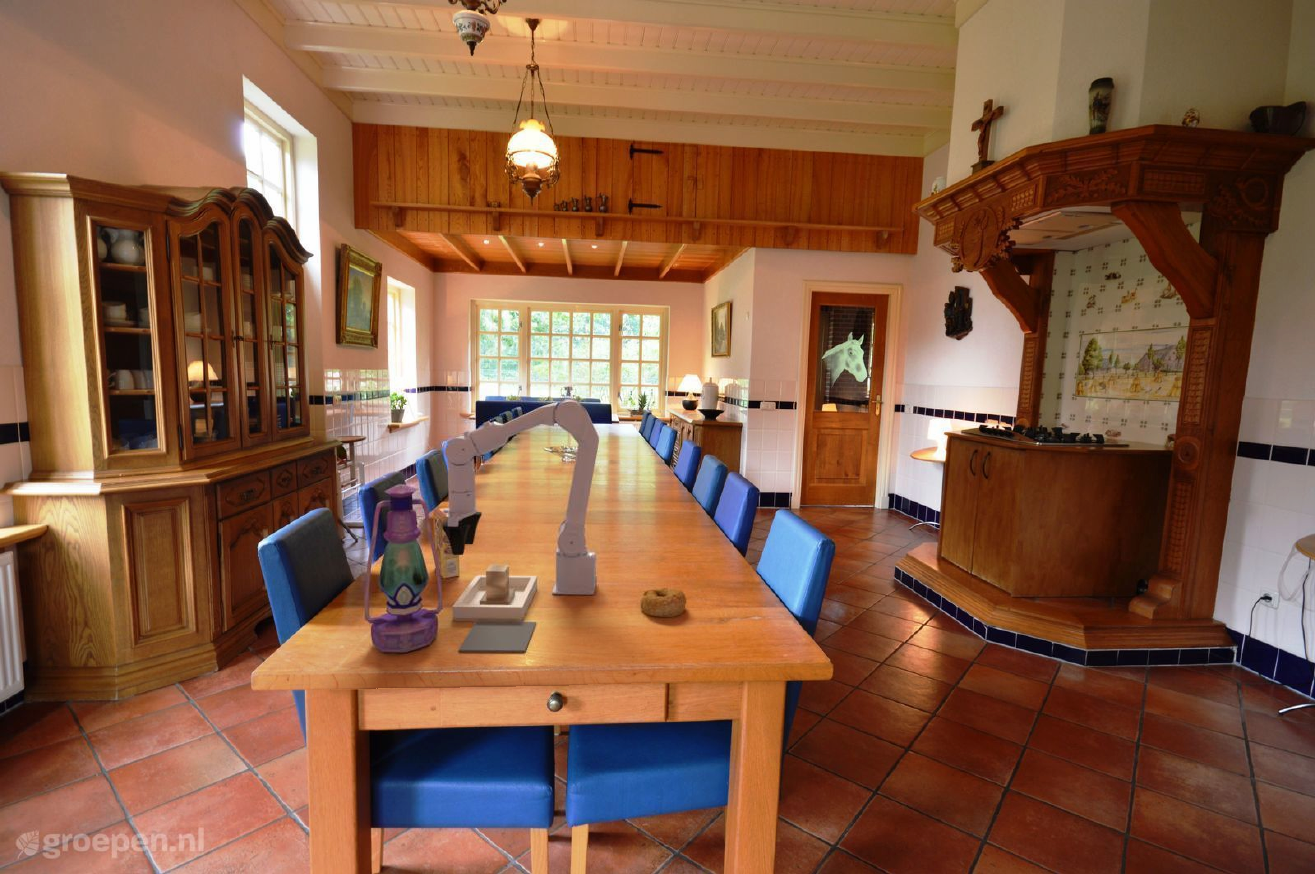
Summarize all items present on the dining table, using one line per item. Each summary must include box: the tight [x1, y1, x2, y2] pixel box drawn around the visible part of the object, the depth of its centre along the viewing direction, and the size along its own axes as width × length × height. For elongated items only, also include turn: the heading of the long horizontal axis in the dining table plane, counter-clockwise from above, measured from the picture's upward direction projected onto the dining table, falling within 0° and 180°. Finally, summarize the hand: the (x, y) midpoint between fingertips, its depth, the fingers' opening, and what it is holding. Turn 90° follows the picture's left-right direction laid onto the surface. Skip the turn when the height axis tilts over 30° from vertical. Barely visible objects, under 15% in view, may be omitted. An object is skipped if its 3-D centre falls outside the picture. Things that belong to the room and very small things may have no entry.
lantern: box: [363, 483, 443, 653], centre depth 110 cm, size 13×12×30 cm
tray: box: [452, 574, 538, 622], centre depth 130 cm, size 14×18×3 cm
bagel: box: [640, 587, 687, 618], centre depth 129 cm, size 10×11×5 cm
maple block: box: [485, 564, 510, 598], centre depth 129 cm, size 4×4×6 cm
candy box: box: [432, 507, 461, 579], centre depth 147 cm, size 9×4×15 cm, turn 33°
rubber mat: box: [457, 621, 537, 654], centre depth 114 cm, size 12×12×1 cm
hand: (463, 549), depth 135 cm, fingers open, 7 cm apart
